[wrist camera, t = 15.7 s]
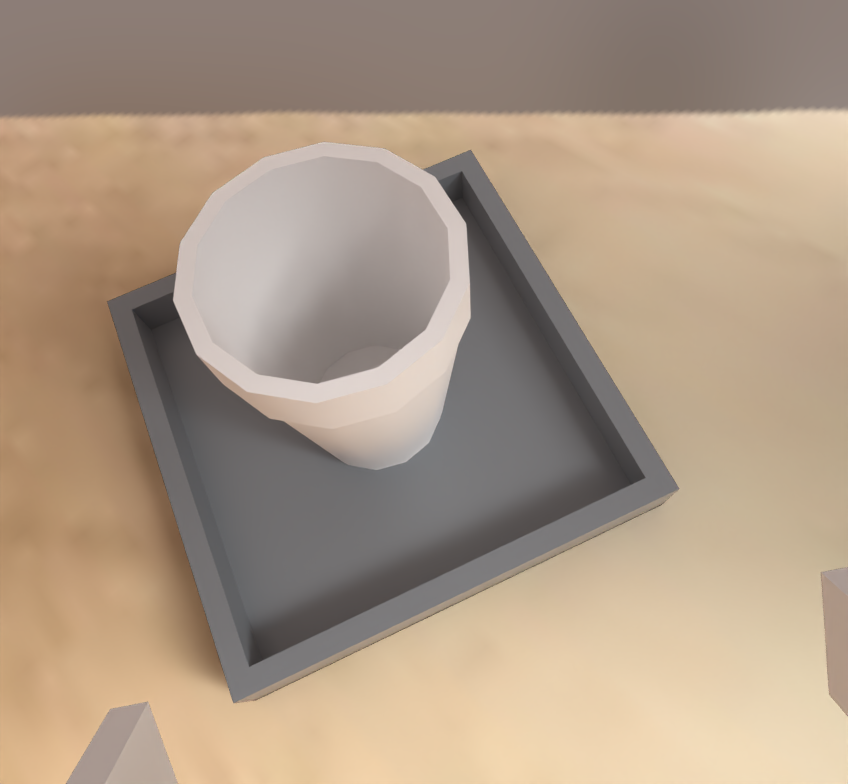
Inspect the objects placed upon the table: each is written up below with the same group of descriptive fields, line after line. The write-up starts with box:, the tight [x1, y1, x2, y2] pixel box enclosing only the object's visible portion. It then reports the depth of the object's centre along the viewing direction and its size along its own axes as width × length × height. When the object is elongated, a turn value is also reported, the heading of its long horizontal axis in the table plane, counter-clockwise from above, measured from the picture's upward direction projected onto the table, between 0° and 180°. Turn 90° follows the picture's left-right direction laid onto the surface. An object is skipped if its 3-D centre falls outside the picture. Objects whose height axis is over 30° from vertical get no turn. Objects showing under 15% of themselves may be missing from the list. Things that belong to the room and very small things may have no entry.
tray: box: [107, 150, 679, 703], centre depth 33 cm, size 20×20×3 cm
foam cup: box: [173, 142, 471, 470], centre depth 28 cm, size 10×9×13 cm
